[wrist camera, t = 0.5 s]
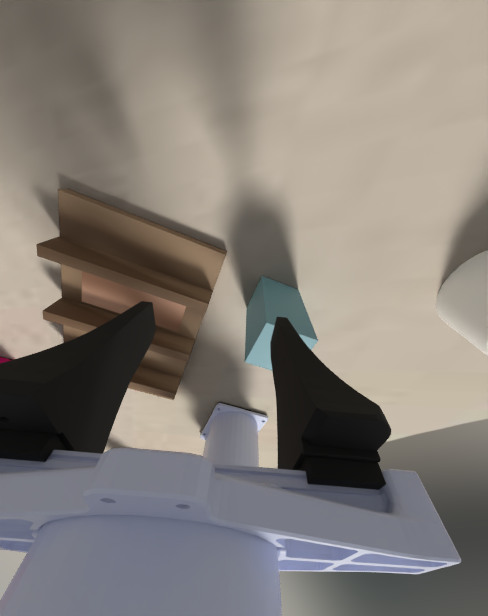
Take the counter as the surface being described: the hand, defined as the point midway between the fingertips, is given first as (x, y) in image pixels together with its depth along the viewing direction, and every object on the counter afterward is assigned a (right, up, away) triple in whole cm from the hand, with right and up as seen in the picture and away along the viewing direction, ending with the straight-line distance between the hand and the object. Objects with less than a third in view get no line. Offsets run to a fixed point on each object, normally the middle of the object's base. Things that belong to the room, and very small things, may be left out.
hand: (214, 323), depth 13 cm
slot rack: (-10, 0, +12) cm, 16 cm away
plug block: (+5, +2, +10) cm, 11 cm away
